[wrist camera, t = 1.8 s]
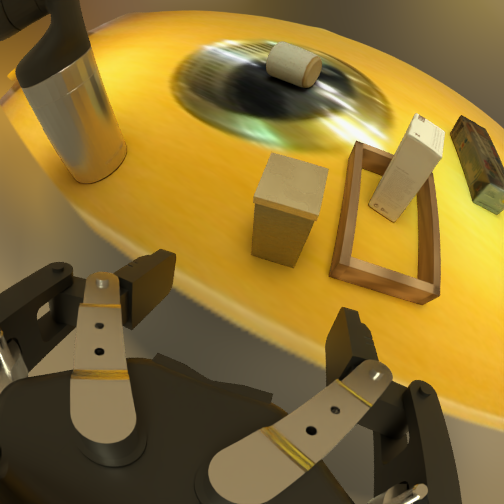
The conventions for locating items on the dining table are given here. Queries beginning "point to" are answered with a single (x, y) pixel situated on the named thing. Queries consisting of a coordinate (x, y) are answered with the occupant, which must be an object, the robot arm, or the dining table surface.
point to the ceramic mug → (293, 65)
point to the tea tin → (286, 208)
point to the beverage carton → (480, 164)
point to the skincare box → (408, 168)
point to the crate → (376, 275)
